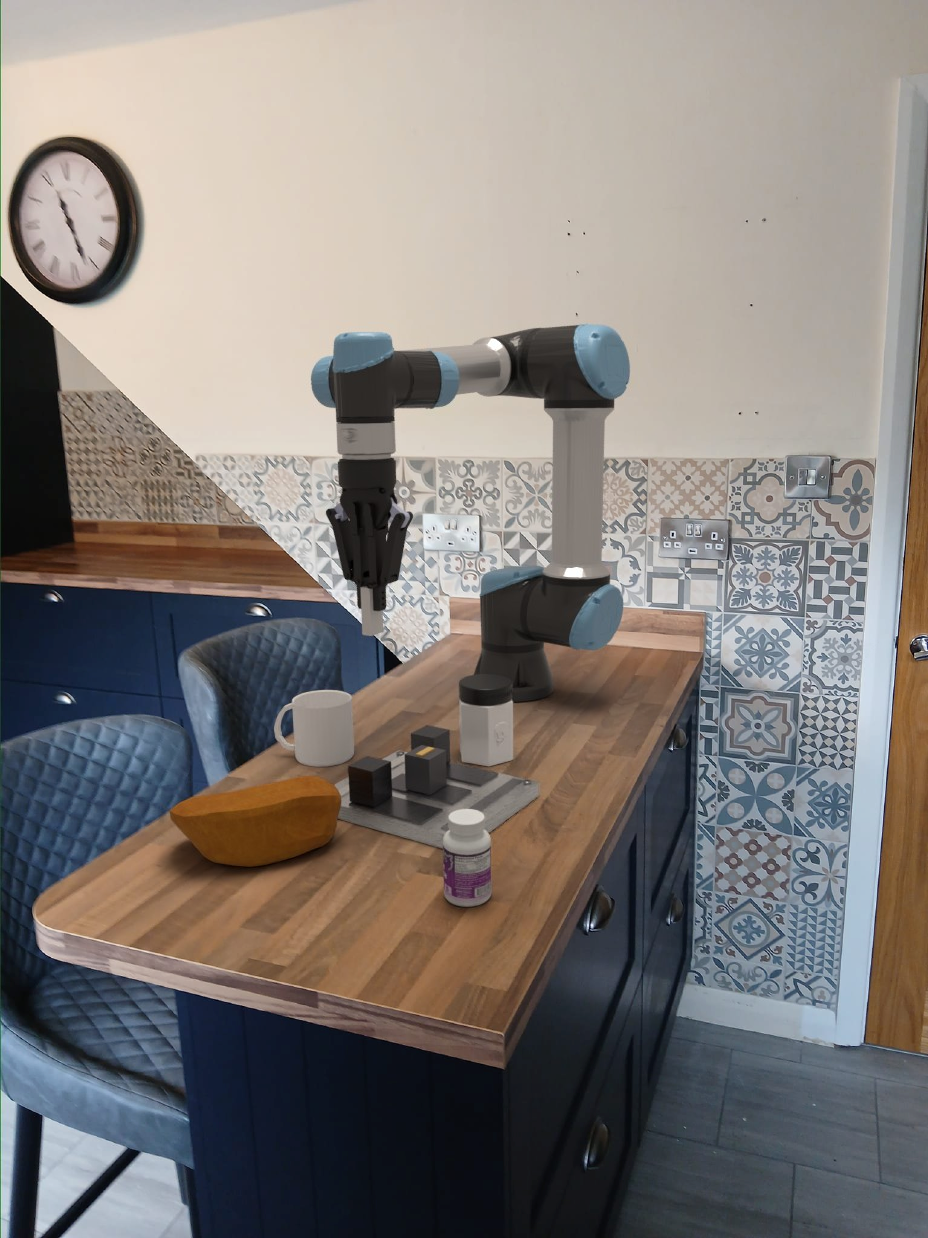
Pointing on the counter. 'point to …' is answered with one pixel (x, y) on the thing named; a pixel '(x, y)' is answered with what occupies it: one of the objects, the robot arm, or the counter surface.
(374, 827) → the panel
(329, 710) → the mug
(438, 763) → the handle
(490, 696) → the jar
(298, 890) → the counter surface
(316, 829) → the bread
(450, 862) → the pill bottle
